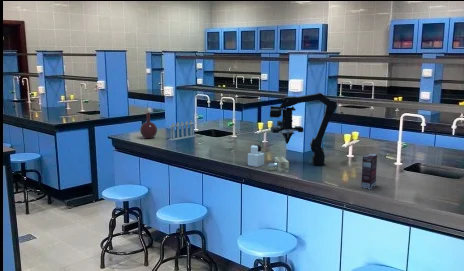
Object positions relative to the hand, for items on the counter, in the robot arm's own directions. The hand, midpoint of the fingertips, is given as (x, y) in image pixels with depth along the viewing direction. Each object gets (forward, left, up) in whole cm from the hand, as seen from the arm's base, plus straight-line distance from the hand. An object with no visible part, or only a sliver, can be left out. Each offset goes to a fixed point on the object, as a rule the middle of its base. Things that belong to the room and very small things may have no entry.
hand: (286, 143), depth 249 cm
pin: (+9, +14, -11) cm, 20 cm away
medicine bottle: (+19, +1, -12) cm, 23 cm away
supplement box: (-27, +51, -12) cm, 59 cm away
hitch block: (+7, +14, -12) cm, 20 cm away
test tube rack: (+59, -91, -12) cm, 109 cm away
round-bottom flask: (+85, -94, -12) cm, 127 cm away
